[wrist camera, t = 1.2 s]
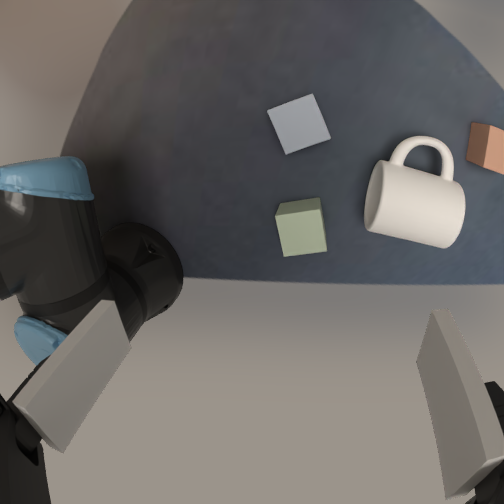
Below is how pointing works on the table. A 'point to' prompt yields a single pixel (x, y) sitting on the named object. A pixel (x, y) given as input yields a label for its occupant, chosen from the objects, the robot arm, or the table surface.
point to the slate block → (299, 124)
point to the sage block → (301, 227)
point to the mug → (415, 198)
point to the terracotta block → (486, 147)
